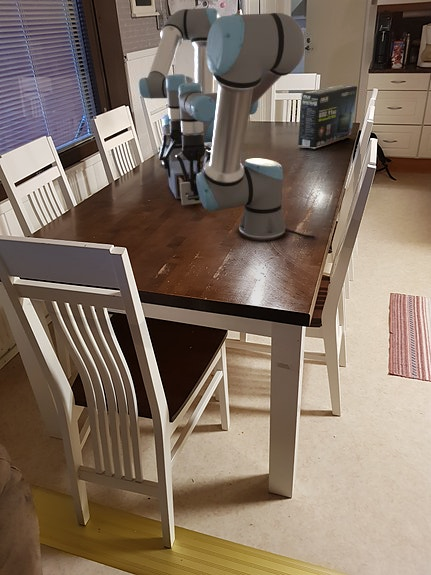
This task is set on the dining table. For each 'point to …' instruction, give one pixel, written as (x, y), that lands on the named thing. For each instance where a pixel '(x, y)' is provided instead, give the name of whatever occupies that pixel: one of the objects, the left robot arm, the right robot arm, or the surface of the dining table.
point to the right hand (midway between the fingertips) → (196, 199)
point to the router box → (326, 115)
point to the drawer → (186, 191)
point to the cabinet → (176, 170)
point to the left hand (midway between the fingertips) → (183, 175)
